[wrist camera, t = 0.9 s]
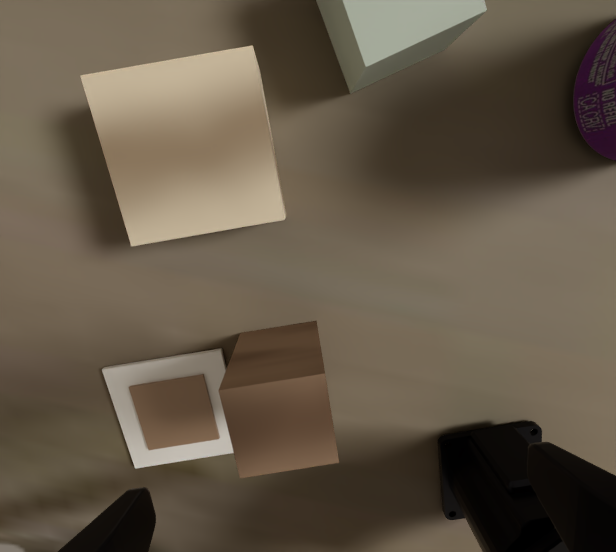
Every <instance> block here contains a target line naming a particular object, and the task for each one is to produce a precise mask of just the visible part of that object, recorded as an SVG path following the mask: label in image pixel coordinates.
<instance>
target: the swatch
mask: <svg viewBox="0 0 616 552" xmlns="http://www.w3.org/2000/svg"><path fill="white" fill-rule="evenodd" d="M226 369H227V368H226V364H225V359H224V355H223V351H222V348H221V349H214V350H208V351H202V352H196V353H189V354H183V355H177V356H171V357H164V358H158V359H152V360H145V361H139V362H133V363H127V364H120V365H114V366H108V367H104V368H103V369H102V372H103V375H104V378H105V381H106V384H107V387H108V390H109V393H110V396H111V399H112V402H113V405H114V407H115V410H116V413H117V416H118V419H119V422H120V425H121V428H122V431H123V434H124V437H125V440H126V443H127V446H128V449H129V452H130V455H131V458H132V461H133V464H134V467H135V468H141V467H148V466H154V465H160V464H166V463H173V462H179V461H185V460H192V459H198V458H204V457H210V456H217V455H223V454H229V453H234V452H233V448H232V444H231V439H230V435H229V431H228V427H227V423H226V419H225V415H224V411H223V407H222V403H221V399H220V395H219V391H218V390H219V388H220V385H221V382H222V380H223V377H224V374H225V372H226Z"/></svg>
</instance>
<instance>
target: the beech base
mask: <svg viewBox="0 0 616 552" xmlns="http://www.w3.org/2000/svg"><path fill="white" fill-rule="evenodd" d="M81 80H82V83H83V86H84V90H85V93H86V96H87V100H88V103H89V106H90V110H91V113H92V116H93V120H94V123H95V126H96V130H97V133H98V136H99V140H100V143H101V146H102V150H103V153H104V156H105V160H106V163H107V166H108V170H109V173H110V177H111V180H112V183H113V187H114V190H115V193H116V197H117V200H118V203H119V207H120V210H121V213H122V217H123V220H124V223H125V227H126V230H127V233H128V237H129V240H130V243H131V246H137V245H143V244H149V243H154V242H160V241H166V240H172V239H177V238H183V237H189V236H194V235H200V234H206V233H212V232H217V231H223V230H229V229H235V228H240V227H246V226H252V225H258V224H263V223H269V222H275V221H280V220H285V217H286V210H285V205H284V199H283V194H282V188H281V183H280V177H279V172H278V166H277V161H276V156H275V150H274V145H273V139H272V134H271V128H270V123H269V117H268V112H267V106H266V101H265V95H264V90H263V84H262V79H261V73H260V69H259V66H258V62H257V59H256V55H255V52H254V48H253V45H252V46H246V47H241V48H235V49H229V50H224V51H218V52H212V53H206V54H201V55H195V56H189V57H184V58H178V59H172V60H167V61H161V62H155V63H149V64H144V65H138V66H132V67H127V68H121V69H115V70H110V71H104V72H98V73H92V74H87V75H81Z"/></svg>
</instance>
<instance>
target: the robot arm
mask: <svg viewBox="0 0 616 552" xmlns="http://www.w3.org/2000/svg"><path fill="white" fill-rule="evenodd" d="M532 429H533V430H532ZM531 430H532V431H531ZM448 442H449V443H448ZM446 443H448V444H446ZM445 444H446V445H445ZM438 452H439V466H440V480H441V493H442V507H443V512H444V514H445V517H446V518H447V519H449V520H456V519H462V518H466V520H467V522H468V524H469V526H470V528H471V530H472V532H473V534H474V536H475V538H476V539H477V541H478V543H479V545H480V547H481V549H482V551H483V552H616V476H615V475H613V474H611V473H609V472H607V471H605V470H603V469H601V468H599V467H597V466H595V465H593V464H591V463H589V462H587V461H585V460H583V459H581V458H580V457H578V456H576V455H574V454H572V453H570V452H568V451H566V450H564V449H562V448H560V447H558V446H556V445H554V444H552V443H549V442H542V430H541V428H540V427H539V426H538V425H537V424H536V423H535V422H533V421H529V422H522V423H516V424H510V425H504V426H497V427H491V428H485V429H478V430H472V431H466V432H460V433H453V434H447V435H443V436H441V437H440V438H439V440H438ZM155 523H156V515H155V510H154V507H153V503H152V499H151V495H150V492H149V490H148V489H147V488H145V487H143V488H134V489H129V490H128V491H126V492H125V493H124V494H123V495H122V496H120V497H119V498H118V499H117V500H116V501H115V502H114V503H113V504H111V505H110V506H109V507H108V508H107V509H106V510H105V511H103V512H102V513H101V514H100V515H99V516H98V517H97V518H95V519H94V520H93V521H92V522H91V523H90V524H89V525H87V526H86V527H85V528H84V529H83V530H82V531H81V532H79V533H78V534H77V535H76V536H75V537H74V538H73V539H72V540H70V541H69V542H68V543H67V544H66V545H65V546H64V547H62V548H61V549H60V550H59V551H58V552H148V551H149V547H150V544H151V540H152V536H153V532H154V528H155Z"/></svg>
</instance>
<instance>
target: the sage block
mask: <svg viewBox="0 0 616 552" xmlns="http://www.w3.org/2000/svg"><path fill="white" fill-rule="evenodd" d="M316 1H317V4H318V7H319V10H320V12H321V15H322V18H323V20H324V23H325V26H326V29H327V31H328V34H329V37H330V40H331V42H332V45H333V48H334V51H335V53H336V56H337V59H338V61H339V64H340V67H341V70H342V72H343V75H344V78H345V81H346V83H347V86H348V89H349V92H350V94H351V93H353V92H355V91H358V90H360V89H362V88H364V87H366V86H368V85H370V84H373V83H375V82H377V81H379V80H381V79H383V78H385V77H388V76H390V75H392V74H394V73H396V72H398V71H401V70H403V69H405V68H407V67H409V66H411V65H413V64H416V63H418V62H420V61H422V60H424V59H426V58H429V57H431V56H433V55H435V54H437V53H439V52H441V51H444V50H445V49H446V48H447V47H448V46H449V45H450V44H451V43H453V42H454V41H455V40H456V39H457V38H458V37H459V36H460V35H461V34H462V33H463V32H464V31H465V30H466V29H468V28H469V27H470V26H471V25H472V24H473V23H474V22H475V21H476V20H477V19H478V18H479V17H480V16H481V15H483V14H484V13H485V12H486V11H487V9H486V5H485V1H484V0H316Z"/></svg>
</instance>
